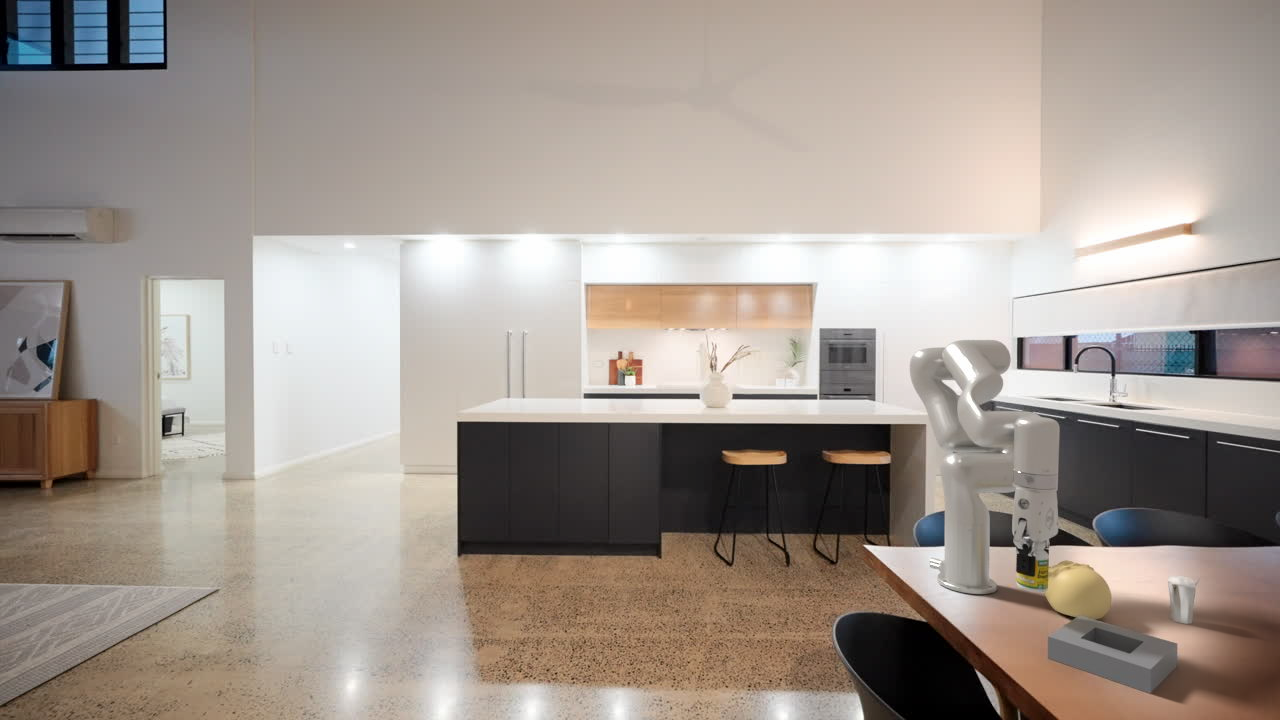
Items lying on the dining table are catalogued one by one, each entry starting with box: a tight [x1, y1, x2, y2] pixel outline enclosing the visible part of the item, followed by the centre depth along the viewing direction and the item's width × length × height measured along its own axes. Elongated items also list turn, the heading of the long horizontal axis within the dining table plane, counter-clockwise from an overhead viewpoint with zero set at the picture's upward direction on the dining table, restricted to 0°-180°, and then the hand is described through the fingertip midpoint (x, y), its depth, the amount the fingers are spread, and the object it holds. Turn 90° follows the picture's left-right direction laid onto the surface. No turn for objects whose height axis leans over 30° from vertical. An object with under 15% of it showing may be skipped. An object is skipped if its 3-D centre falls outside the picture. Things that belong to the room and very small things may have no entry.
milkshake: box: [1167, 574, 1202, 625], centre depth 131 cm, size 5×5×10 cm
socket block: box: [1047, 616, 1178, 695], centre depth 114 cm, size 15×15×4 cm
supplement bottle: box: [1016, 536, 1050, 593], centre depth 126 cm, size 5×5×10 cm
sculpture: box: [1043, 560, 1113, 620], centre depth 135 cm, size 11×12×11 cm
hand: (1032, 569), depth 126 cm, fingers closed on supplement bottle, 5 cm apart
